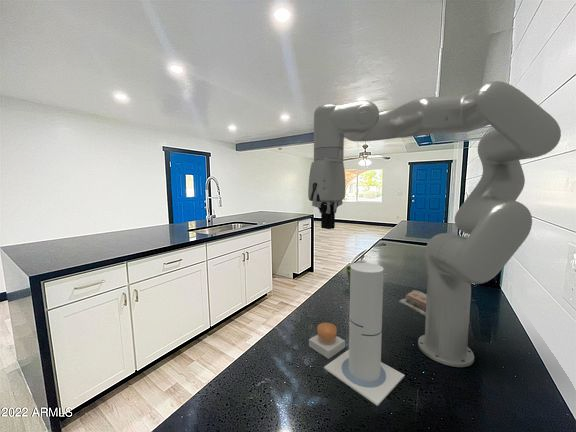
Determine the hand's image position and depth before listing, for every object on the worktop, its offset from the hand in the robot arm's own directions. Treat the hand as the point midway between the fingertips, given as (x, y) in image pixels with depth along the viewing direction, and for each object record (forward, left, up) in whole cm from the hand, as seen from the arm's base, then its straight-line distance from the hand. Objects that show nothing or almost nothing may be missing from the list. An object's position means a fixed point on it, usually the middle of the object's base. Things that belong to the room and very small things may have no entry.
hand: (327, 228), depth 65 cm
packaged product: (-44, +10, -34) cm, 56 cm away
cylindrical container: (+1, +12, -33) cm, 35 cm away
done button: (0, 0, -29) cm, 29 cm away
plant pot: (-36, -13, -33) cm, 51 cm away
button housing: (0, 0, -33) cm, 33 cm away
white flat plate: (+1, +12, -33) cm, 35 cm away
